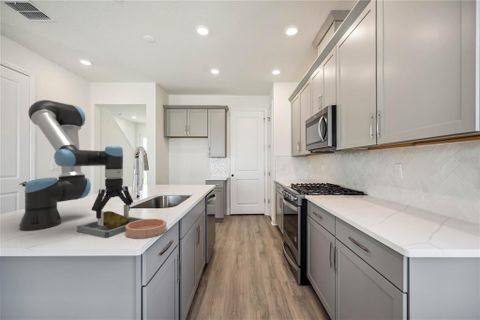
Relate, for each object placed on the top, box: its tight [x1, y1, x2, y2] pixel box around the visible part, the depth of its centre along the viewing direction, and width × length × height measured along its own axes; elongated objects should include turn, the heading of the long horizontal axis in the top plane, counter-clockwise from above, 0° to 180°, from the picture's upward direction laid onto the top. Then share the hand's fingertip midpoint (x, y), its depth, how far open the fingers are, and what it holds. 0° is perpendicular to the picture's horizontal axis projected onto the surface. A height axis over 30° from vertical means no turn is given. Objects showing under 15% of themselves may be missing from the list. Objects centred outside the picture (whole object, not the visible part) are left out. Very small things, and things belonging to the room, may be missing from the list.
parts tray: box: [76, 216, 144, 239], centre depth 103 cm, size 19×21×2 cm
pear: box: [103, 210, 130, 229], centre depth 103 cm, size 8×13×8 cm, turn 86°
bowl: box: [124, 218, 167, 239], centre depth 98 cm, size 17×17×4 cm
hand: (114, 221), depth 103 cm, fingers open, 13 cm apart
